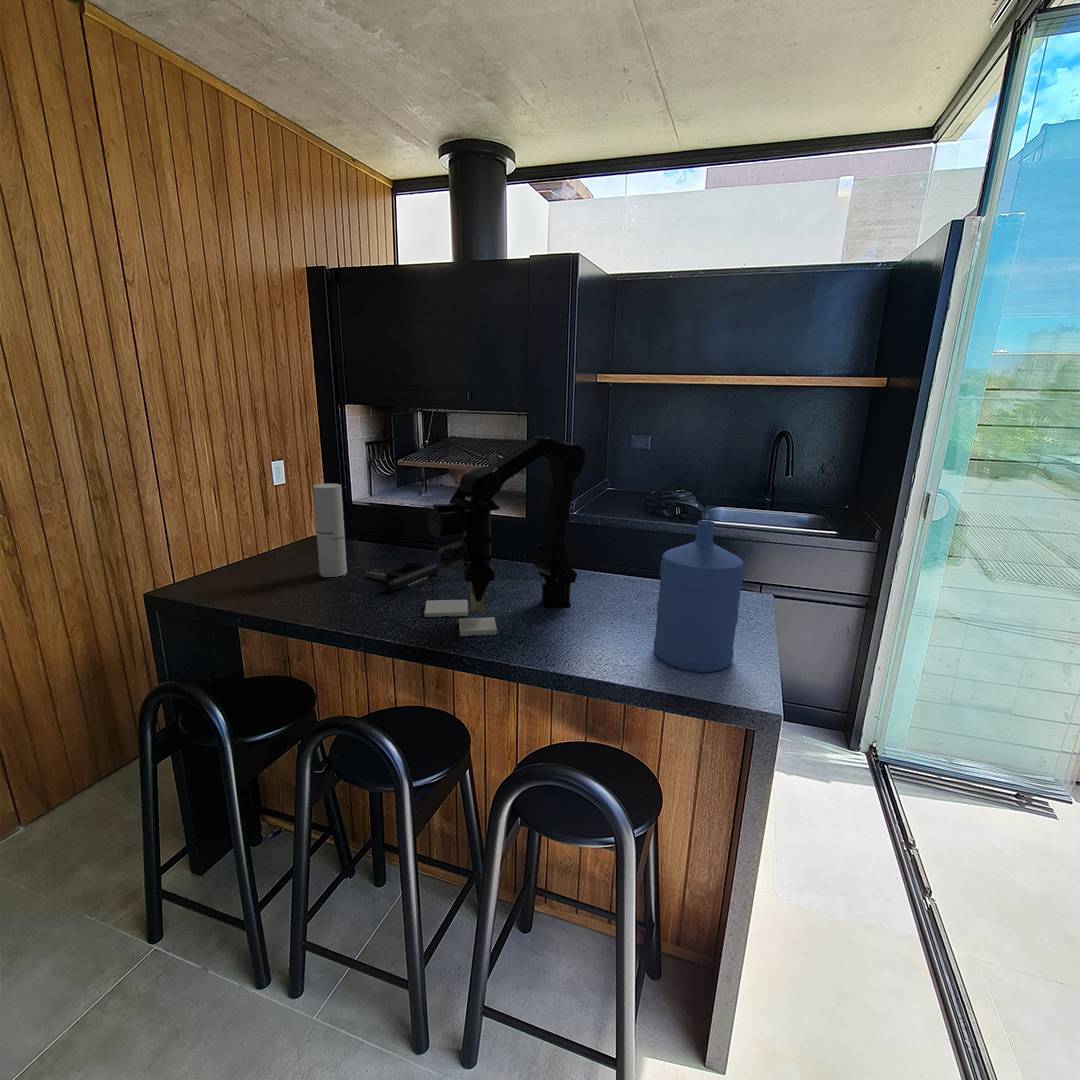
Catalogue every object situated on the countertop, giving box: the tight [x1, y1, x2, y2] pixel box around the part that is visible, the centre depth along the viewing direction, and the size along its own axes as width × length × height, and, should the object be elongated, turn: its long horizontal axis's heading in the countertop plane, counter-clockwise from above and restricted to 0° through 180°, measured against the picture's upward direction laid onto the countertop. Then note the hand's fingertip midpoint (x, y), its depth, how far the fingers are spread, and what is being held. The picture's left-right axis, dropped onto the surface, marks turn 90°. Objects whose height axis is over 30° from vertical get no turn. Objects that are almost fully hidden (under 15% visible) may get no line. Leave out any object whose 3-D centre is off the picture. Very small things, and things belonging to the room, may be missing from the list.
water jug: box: [653, 519, 745, 673], centre depth 111 cm, size 16×16×28 cm
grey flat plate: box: [424, 599, 469, 618], centre depth 135 cm, size 10×8×1 cm
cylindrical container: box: [312, 483, 348, 578], centre depth 155 cm, size 7×7×25 cm
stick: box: [470, 582, 486, 613], centre depth 126 cm, size 3×3×9 cm
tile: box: [458, 616, 498, 637], centre depth 125 cm, size 8×2×7 cm
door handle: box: [365, 561, 440, 593], centre depth 156 cm, size 3×20×16 cm
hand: (477, 598), depth 127 cm, fingers closed on stick, 3 cm apart
